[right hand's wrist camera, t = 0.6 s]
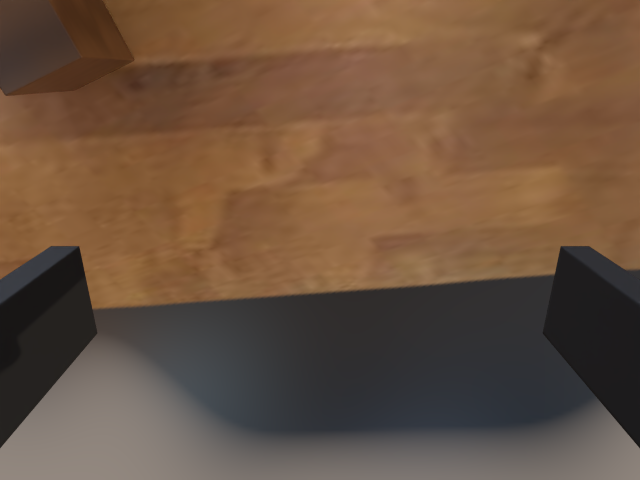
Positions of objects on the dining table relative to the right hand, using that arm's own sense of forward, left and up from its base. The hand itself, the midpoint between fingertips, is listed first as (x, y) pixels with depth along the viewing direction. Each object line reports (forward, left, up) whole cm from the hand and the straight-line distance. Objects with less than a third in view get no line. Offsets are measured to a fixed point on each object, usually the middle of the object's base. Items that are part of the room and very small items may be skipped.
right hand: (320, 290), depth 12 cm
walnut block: (-4, -19, -25) cm, 32 cm away
